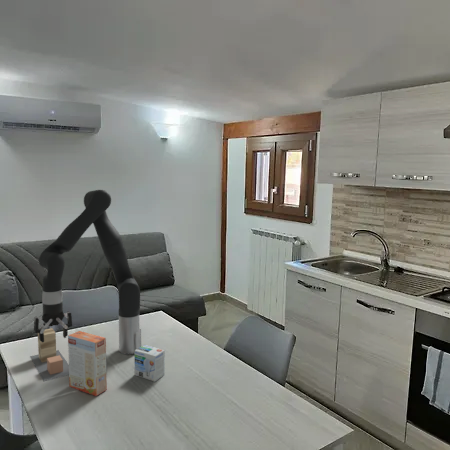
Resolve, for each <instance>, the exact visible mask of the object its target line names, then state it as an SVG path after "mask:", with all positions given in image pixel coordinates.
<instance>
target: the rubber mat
mask: <svg viewBox="0 0 450 450" xmlns="http://www.w3.org/2000/svg"><path fill="white" fill-rule="evenodd" d="M59 355H60V357H61V358H62V359H63V372H59V373H55V374H51V375H50V373H49V372H48V370H47V361H46V362H41V360H40V359H39V353H38V354H34V355H30V356H29V357H30V359H31V361H32V362H33V365H34V367H35V369H36V370H37V372H38V374H39V376H40V378H41V379H42V382H46V381H51V380H56V379H59V378H63V377H66V376H69V362H67V359H65V357H64V356H63V354H62V352H61V351H60V350H59V349H56V356H59Z"/></svg>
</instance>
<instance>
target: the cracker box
mask: <svg viewBox="0 0 450 450" xmlns="http://www.w3.org/2000/svg"><path fill="white" fill-rule="evenodd" d="M67 346H68V348H67V349H68V351H67V352H68V364H69V375H68V380H69V381H68V382H69V386H68V387H70V388H72V389H76V390H77V391H80V392H83V393H85V394H89V395H91V396H95V397H97V396H99V395H100V394H102V393H104V392H106V391H107V389H108V388H107V385H108V383H107V381H108V380H107V379H108V377H107V338H106V337H103V336H100V335H97V334H93V333H89V332H84V331H80V330H78V331H75V332H73V333H70V334H69V335H67Z"/></svg>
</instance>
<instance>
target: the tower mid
mask: <svg viewBox="0 0 450 450" xmlns="http://www.w3.org/2000/svg"><path fill="white" fill-rule="evenodd" d="M43 333H44V342H41V341H40V339H39V333H37V346H38V345H39V346H40V348H41V349H44V348H49V347H54V346H56V347H57V339H56V337H57V336H56V331H55V330H54V328H52V327H51V328H47V329H45V331H44V332H43Z"/></svg>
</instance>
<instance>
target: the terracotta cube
mask: <svg viewBox="0 0 450 450" xmlns="http://www.w3.org/2000/svg"><path fill="white" fill-rule="evenodd" d="M47 370H48V372H49V373H50V375H51V374H55V373H59V372H63V359H62V358H61V357H60V355H59V356H54V357H50V358H47Z"/></svg>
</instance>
